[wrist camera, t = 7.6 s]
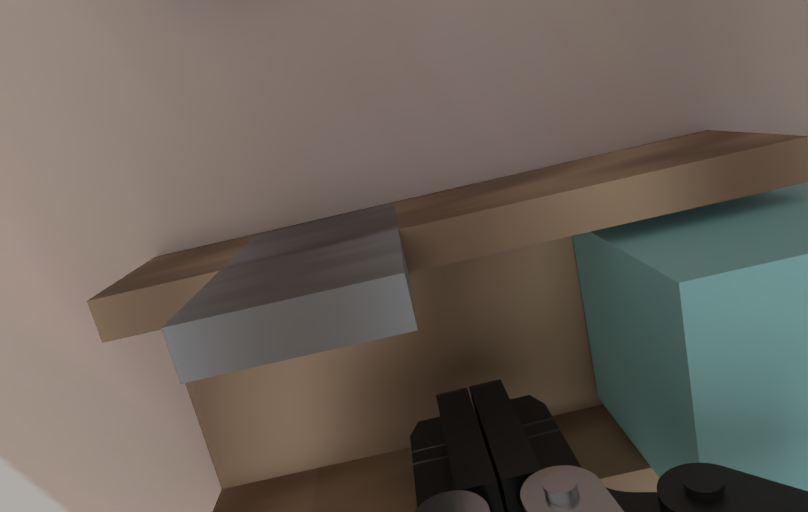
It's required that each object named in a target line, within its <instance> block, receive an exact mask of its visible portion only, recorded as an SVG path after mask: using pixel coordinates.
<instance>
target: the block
mask: <svg viewBox="0 0 808 512" xmlns="http://www.w3.org/2000/svg"><path fill="white" fill-rule="evenodd" d="M573 242H574V248H575V254H576V261H577V267H578V273H579V280H580V286H581V292H582V299H583V305H584V311H585V318H586V324H587V330H588V337H589V343H590V349H591V356H592V362H593V368H594V375H595V381H596V387H597V394H598V398H599V399H600V400H601V402H602V403H603V404H604V406H605V407H606V408H607V410H608V411H609V412H610V413H611V415H612V416H613V417H614V419H615V420H616V421H617V423H618V424H619V425H620V427H621V428H622V429H623V431H624V432H625V433H626V435H627V436H628V437H629V439H630V440H631V441H632V442H633V444H634V445H635V446H636V448H637V449H638V450H639V452H640V453H641V454H642V456H643V457H644V458H645V460H646V461H647V462H648V464H649V465H650V466H651V468H652V469H653V470H654V471H655V473H656V474H657V475H658V477H659V478H660V477H661V475H663V474H664V473H665V472H666V471H668V470H669V469H671V468H673V467H676V466H679V465H682V464H687V463H711V464H717V465H721V466H725V467H728V468H731V469H735V470H738V471H741V472H745V473H748V474H751V475H755V476H758V477H761V478H765V479H768V480H771V481H775V482H778V483H782V484H785V485H788V486H792V487H795V488H798V489H802V490H805V491H808V182H807V183H802V184H798V185H793V186H789V187H785V188H780V189H776V190H771V191H767V192H763V193H758V194H754V195H749V196H745V197H741V198H736V199H732V200H727V201H723V202H719V203H714V204H710V205H705V206H701V207H697V208H692V209H688V210H683V211H679V212H675V213H670V214H666V215H661V216H657V217H653V218H648V219H644V220H639V221H635V222H631V223H626V224H622V225H617V226H613V227H609V228H604V229H600V230H595V231H591V232H587V233H582V234H578V235H573Z"/></svg>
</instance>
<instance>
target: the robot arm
mask: <svg viewBox="0 0 808 512" xmlns="http://www.w3.org/2000/svg"><path fill="white" fill-rule="evenodd" d="M469 389H470V394H471V398H472V402H473V405H472V402H471V399H470V396H469V393H468V390H467V387H465V388H461V389H457V390H453V391H449V392H445V393H440V394H436V398H437V403H438V408H439V413H440V417H435V418H431V419H427V420H423V421H419V422H418V423H417V425H416V426H415V428H414V430H413V432H412V434H411V436H410V441H411V451H412V461H413V471H414V481H415V491H416V502H417V509H416V510H415V512H808V491H805V490H802V489H798V488H795V487H792V486H788V485H785V484H782V483H778V482H775V481H771V480H768V479H765V478H761V477H758V476H755V475H751V474H748V473H745V472H741V471H738V470H735V469H731V468H728V467H725V466H721V465H717V464H711V463H687V464H682V465H679V466H676V467H673V468H671V469H669V470H668V471H666V472H665V473H664V474H663V475H661V477H660V478H659V480H658V483H657V492H624V491H617V490H613V489H609V488H606V487H605V486H604V484H603V483H602V482H601V480H600V479H599V478H598V477H597V476H596V475H595V474H593V473H592V472H590V471H588V470H586V469H584V468H582V467H581V465H580V464H579V462H578V460H577V458H576V457H575V455H574V453H573V451H572V450H571V448H570V446H569V445H568V443H567V441H566V439H565V438H564V436H563V434H562V432H561V431H560V430H559V427H558V425H557V424H556V422H555V420H553V417H552V415H551V413H550V412H549V410H548V408H547V406H546V405H545V404H544V403H543V402H541V401H539V400H537V399H536V398H534V397H532V396H531V395H526V396H522V397H518V398H514V399H510V398H509V396H508V394H507V392H506V390H505V388H504V385H503V383H502V381H501V379H498V380H494V381H490V382H486V383H482V384H477V385H473V386H469ZM473 407H474V408H473Z"/></svg>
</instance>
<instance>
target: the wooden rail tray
mask: <svg viewBox="0 0 808 512" xmlns="http://www.w3.org/2000/svg"><path fill="white" fill-rule="evenodd" d="M807 182H808V138H807V136H795V135H778V134H761V133H744V132H727V131H710V130H706V131H702V132H698V133H693V134H689V135H685V136H680V137H676V138H672V139H667V140H663V141H659V142H654V143H650V144H645V145H641V146H637V147H632V148H628V149H624V150H619V151H615V152H611V153H606V154H602V155H598V156H593V157H589V158H585V159H580V160H576V161H571V162H567V163H563V164H558V165H554V166H550V167H545V168H541V169H537V170H532V171H528V172H524V173H519V174H515V175H510V176H506V177H502V178H497V179H493V180H489V181H484V182H480V183H476V184H471V185H467V186H463V187H458V188H454V189H450V190H445V191H441V192H436V193H432V194H428V195H423V196H419V197H415V198H410V199H406V200H402V201H397V202H393V203H389V204H384V205H380V206H375V207H371V208H367V209H362V210H358V211H354V212H349V213H345V214H341V215H336V216H332V217H328V218H323V219H319V220H315V221H310V222H306V223H301V224H297V225H293V226H288V227H284V228H280V229H275V230H271V231H267V232H262V233H258V234H254V235H249V236H245V237H241V238H236V239H232V240H227V241H223V242H219V243H214V244H210V245H206V246H201V247H197V248H193V249H188V250H184V251H180V252H175V253H171V254H166V255H162V256H158V257H154V258H153V259H151V260H150V261H148V262H147V263H145V264H144V265H142V266H141V267H139V268H137V269H136V270H134V271H133V272H131V273H130V274H128V275H127V276H125V277H123V278H122V279H120V280H119V281H117V282H116V283H114V284H113V285H111V286H109V287H108V288H106V289H105V290H103V291H102V292H100V293H99V294H97V295H96V296H94V297H92V298H91V299H89V300H88V301H87V303H88V305H89V308H90V311H91V313H92V316H93V319H94V321H95V324H96V327H97V329H98V332H99V335H100V337H101V340H102V342H107V341H112V340H116V339H121V338H125V337H129V336H134V335H138V334H143V333H147V332H151V331H156V330H160V329H162V331H163V334H164V337H165V340H166V343H167V346H168V348H169V351H170V354H171V357H172V360H173V363H174V366H175V369H176V371H177V374H178V377H179V380H180V383H181V384H182V383H185V384H186V387H187V390H188V392H189V395H190V398H191V401H192V404H193V407H194V410H195V413H196V416H197V418H198V421H199V424H200V427H201V430H202V433H203V436H204V439H205V441H206V444H207V447H208V450H209V453H210V456H211V459H212V462H213V465H214V467H215V470H216V473H217V476H218V479H219V482H220V485H221V488H222V490H221V493H220V495H219V498H218V500H217V502H216V505H215V507H214V509H213V512H415V510H416V509H417V502H416V491H415V481H414V471H413V461H412V451H411V441H410V436H411V434H412V432H413V430H414V428H415V426H416V425H417V423H418V422H419V421H423V420H427V419H431V418H435V417H440V413H439V408H438V403H437V398H436V394H440V393H445V392H449V391H453V390H457V389H461V388H465V387H467V390H468V393H469V396H470V399H471V402H472V398H471V394H470V389H469V386H473V385H477V384H482V383H486V382H490V381H494V380H498V379H501V381H502V383H503V385H504V388H505V390H506V392H507V394H508V396H509V398H510V399H514V398H518V397H522V396H526V395H531V396H532V397H534V398H536V399H537V400H539V401H541V402H543V403H544V404H545V405H546V406H547V408H548V410H549V412H550V413H551V415H552V417H553V420H555V422H556V424H557V425H558V427H559V430H560V431H561V432H562V434H563V436H564V438H565V439H566V441H567V443H568V445H569V446H570V448H571V450H572V451H573V453H574V455H575V457H576V458H577V460H578V462H579V464H580V465H581V467H582V468H584V469H586V470H588V471H590V472H592V473H593V474H595V475H596V476H597V477H598V478H599V479H600V480H601V482H602V483H603V484H604V486H605V487H606V488H609V489H613V490H617V491H624V492H657V483H658V480H659V477H658V475H657V474H656V473H655V471H654V470H653V469H652V468H651V466H650V465H649V464H648V462H647V461H646V460H645V458H644V457H643V456H642V454H641V453H640V452H639V450H638V449H637V448H636V446H635V445H634V444H633V442H632V441H631V440H630V439H629V437H628V436H627V435H626V433H625V432H624V431H623V429H622V428H621V427H620V425H619V424H618V423H617V421H616V420H615V419H614V417H613V416H612V415H611V413H610V412H609V411H608V410H607V408H606V407H605V406H604V404H603V403H602V402H601V400H600V399H599V398H598V394H597V387H596V381H595V375H594V368H593V362H592V356H591V349H590V343H589V337H588V330H587V324H586V318H585V311H584V305H583V299H582V292H581V286H580V280H579V273H578V267H577V261H576V254H575V248H574V242H573V235H578V234H582V233H587V232H591V231H595V230H600V229H604V228H609V227H613V226H617V225H622V224H626V223H631V222H635V221H639V220H644V219H648V218H653V217H657V216H661V215H666V214H670V213H675V212H679V211H683V210H688V209H692V208H697V207H701V206H705V205H710V204H714V203H719V202H723V201H727V200H732V199H736V198H741V197H745V196H749V195H754V194H758V193H763V192H767V191H771V190H776V189H780V188H785V187H789V186H793V185H798V184H802V183H807ZM472 405H473V402H472ZM473 408H474V407H473Z"/></svg>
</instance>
